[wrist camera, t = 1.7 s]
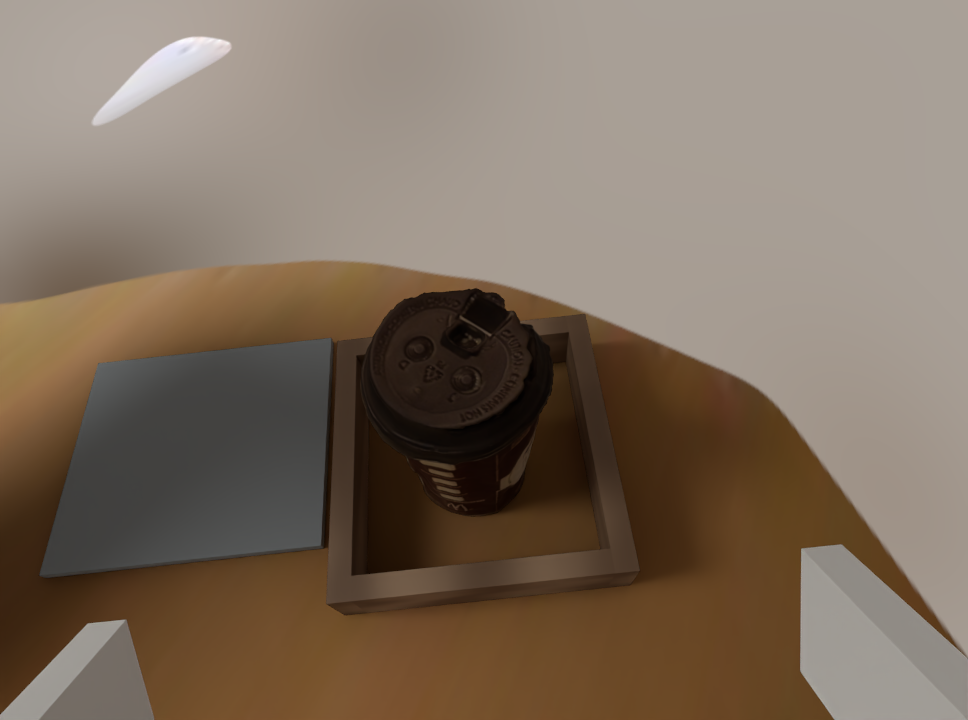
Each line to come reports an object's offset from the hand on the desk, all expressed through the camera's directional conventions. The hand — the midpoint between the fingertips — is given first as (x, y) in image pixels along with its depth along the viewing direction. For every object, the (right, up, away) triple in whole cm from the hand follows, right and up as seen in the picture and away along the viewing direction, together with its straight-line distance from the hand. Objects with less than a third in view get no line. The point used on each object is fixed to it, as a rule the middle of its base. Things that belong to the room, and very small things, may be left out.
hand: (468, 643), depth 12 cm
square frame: (0, -1, +25) cm, 25 cm away
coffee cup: (0, -1, +25) cm, 25 cm away
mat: (-17, 0, +27) cm, 32 cm away
